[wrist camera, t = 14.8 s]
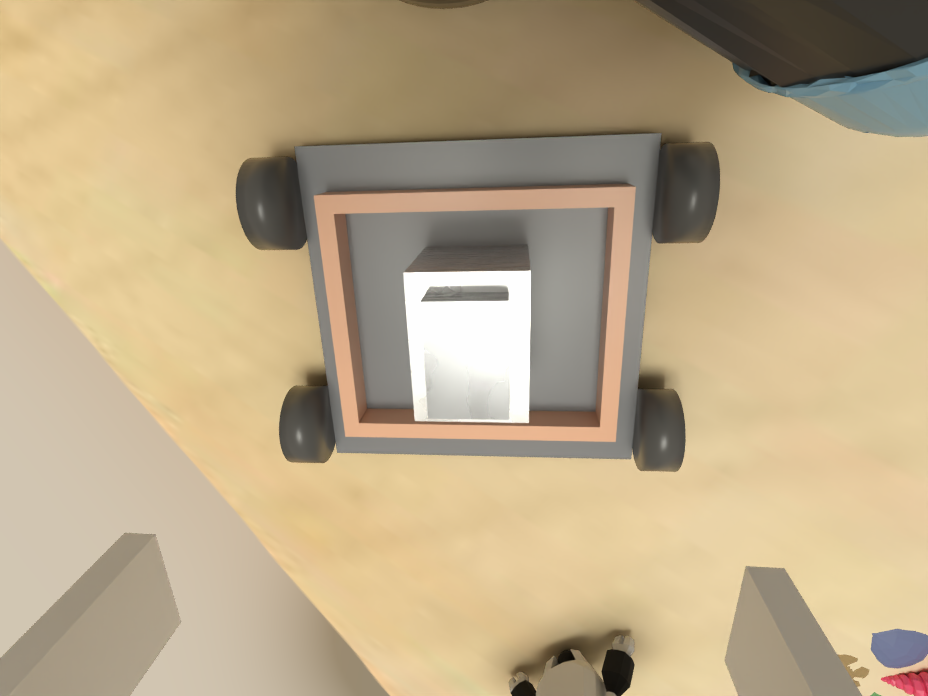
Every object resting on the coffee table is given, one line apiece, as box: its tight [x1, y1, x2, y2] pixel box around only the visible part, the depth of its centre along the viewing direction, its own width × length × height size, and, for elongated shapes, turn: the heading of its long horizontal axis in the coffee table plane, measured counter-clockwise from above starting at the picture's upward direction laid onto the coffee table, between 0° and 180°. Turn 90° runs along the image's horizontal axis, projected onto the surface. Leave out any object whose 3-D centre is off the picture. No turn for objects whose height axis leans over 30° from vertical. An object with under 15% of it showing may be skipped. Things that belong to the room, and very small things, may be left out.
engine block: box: [403, 245, 531, 423], centre depth 29 cm, size 8×6×8 cm
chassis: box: [236, 133, 720, 472], centre depth 31 cm, size 20×24×5 cm
